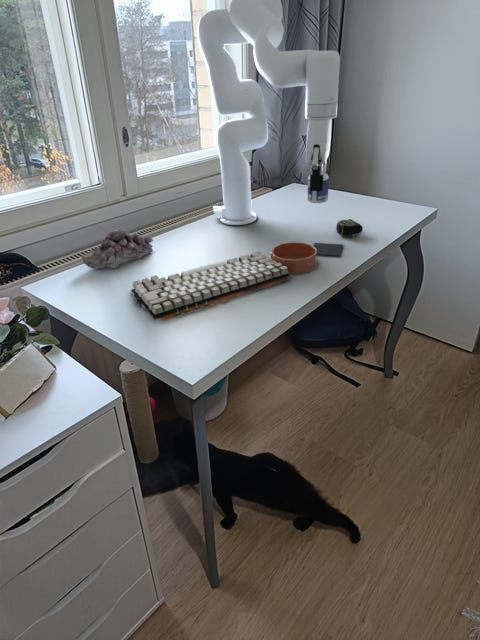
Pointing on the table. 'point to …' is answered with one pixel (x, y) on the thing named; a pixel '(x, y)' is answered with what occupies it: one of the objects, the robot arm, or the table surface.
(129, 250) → the mineral specimen
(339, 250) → the coaster
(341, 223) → the tape measure
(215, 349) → the table surface
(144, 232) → the table surface
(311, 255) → the bowl
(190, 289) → the mechanical keyboard
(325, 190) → the pill bottle
